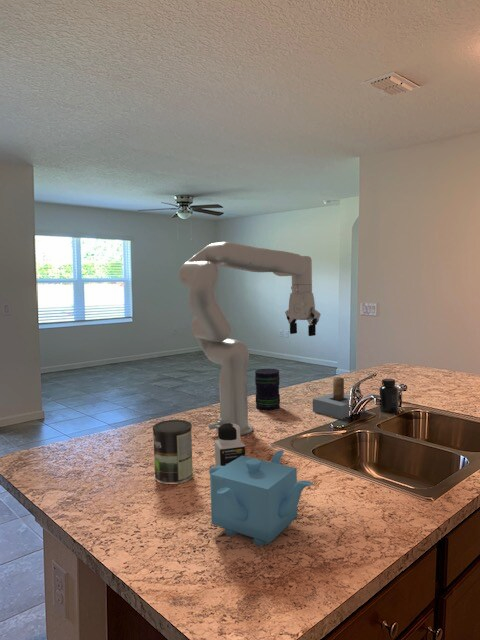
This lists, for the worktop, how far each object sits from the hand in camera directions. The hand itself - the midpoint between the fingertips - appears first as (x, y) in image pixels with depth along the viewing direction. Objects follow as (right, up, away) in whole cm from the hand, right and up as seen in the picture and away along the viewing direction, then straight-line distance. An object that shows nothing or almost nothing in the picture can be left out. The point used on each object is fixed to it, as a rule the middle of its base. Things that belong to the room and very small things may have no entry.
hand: (302, 334), depth 178 cm
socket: (+14, -30, +3) cm, 33 cm away
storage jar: (-12, -30, +12) cm, 34 cm away
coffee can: (-41, -37, -52) cm, 76 cm away
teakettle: (-20, -39, -79) cm, 90 cm away
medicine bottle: (-26, -36, -46) cm, 64 cm away
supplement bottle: (+34, -30, +3) cm, 45 cm away
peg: (+14, -29, +3) cm, 32 cm away
